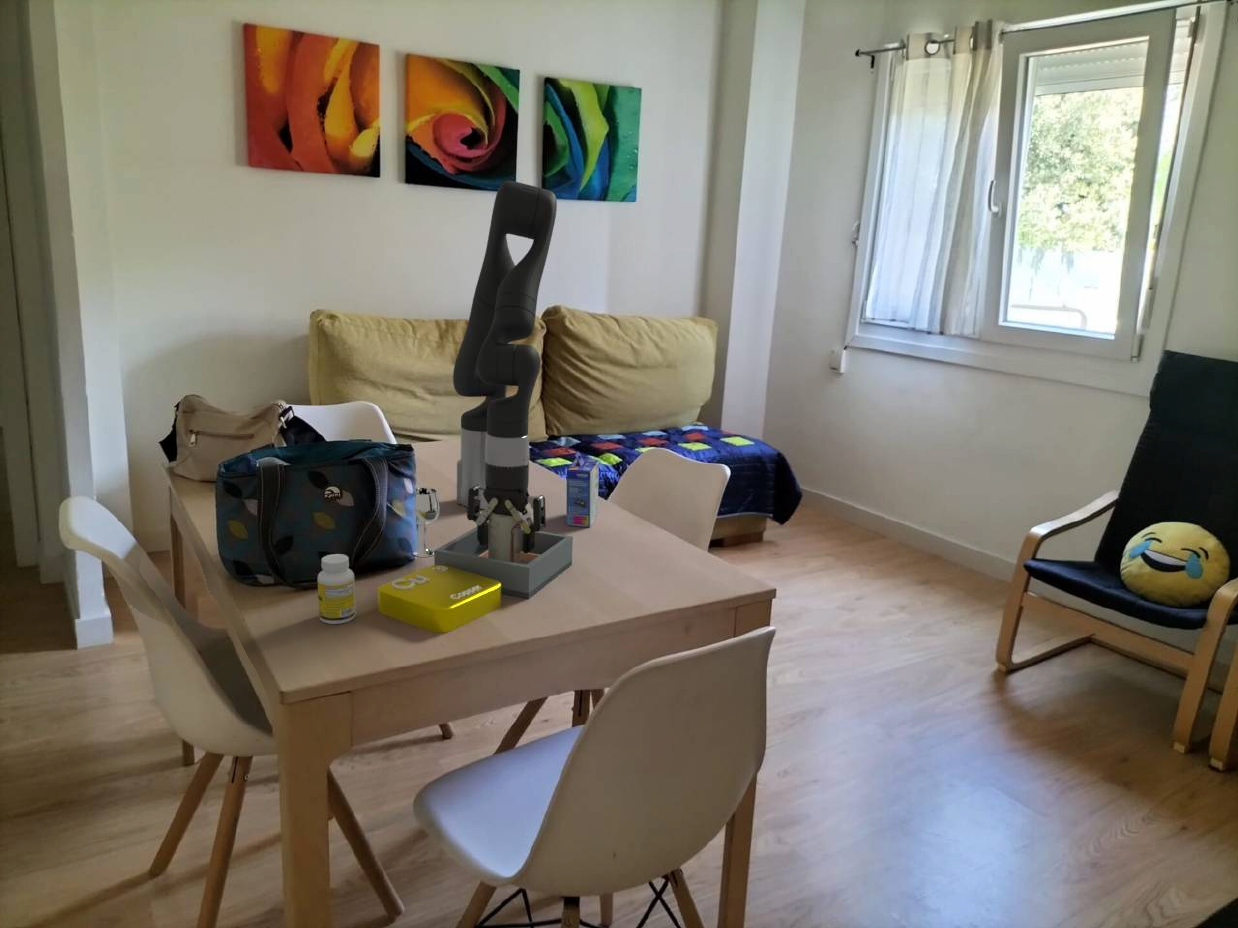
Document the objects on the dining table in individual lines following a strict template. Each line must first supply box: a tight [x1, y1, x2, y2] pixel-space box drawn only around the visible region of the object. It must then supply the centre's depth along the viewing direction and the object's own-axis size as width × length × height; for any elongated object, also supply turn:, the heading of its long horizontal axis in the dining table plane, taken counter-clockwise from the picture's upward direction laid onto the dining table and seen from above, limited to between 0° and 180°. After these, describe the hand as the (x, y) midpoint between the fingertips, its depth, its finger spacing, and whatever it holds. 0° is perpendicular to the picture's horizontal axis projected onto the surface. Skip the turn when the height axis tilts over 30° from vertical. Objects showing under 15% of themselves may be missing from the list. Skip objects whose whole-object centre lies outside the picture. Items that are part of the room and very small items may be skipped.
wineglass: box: [415, 487, 441, 558], centre depth 171 cm, size 6×6×12 cm
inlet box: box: [433, 521, 574, 600], centre depth 164 cm, size 18×18×6 cm
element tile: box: [377, 564, 502, 634], centre depth 148 cm, size 15×15×5 cm
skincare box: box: [488, 511, 522, 564], centre depth 164 cm, size 5×4×10 cm
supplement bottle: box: [317, 553, 356, 625], centre depth 142 cm, size 5×5×10 cm
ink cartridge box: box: [566, 451, 600, 528], centre depth 195 cm, size 10×6×14 cm, turn 172°
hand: (505, 548), depth 164 cm, fingers open, 8 cm apart
